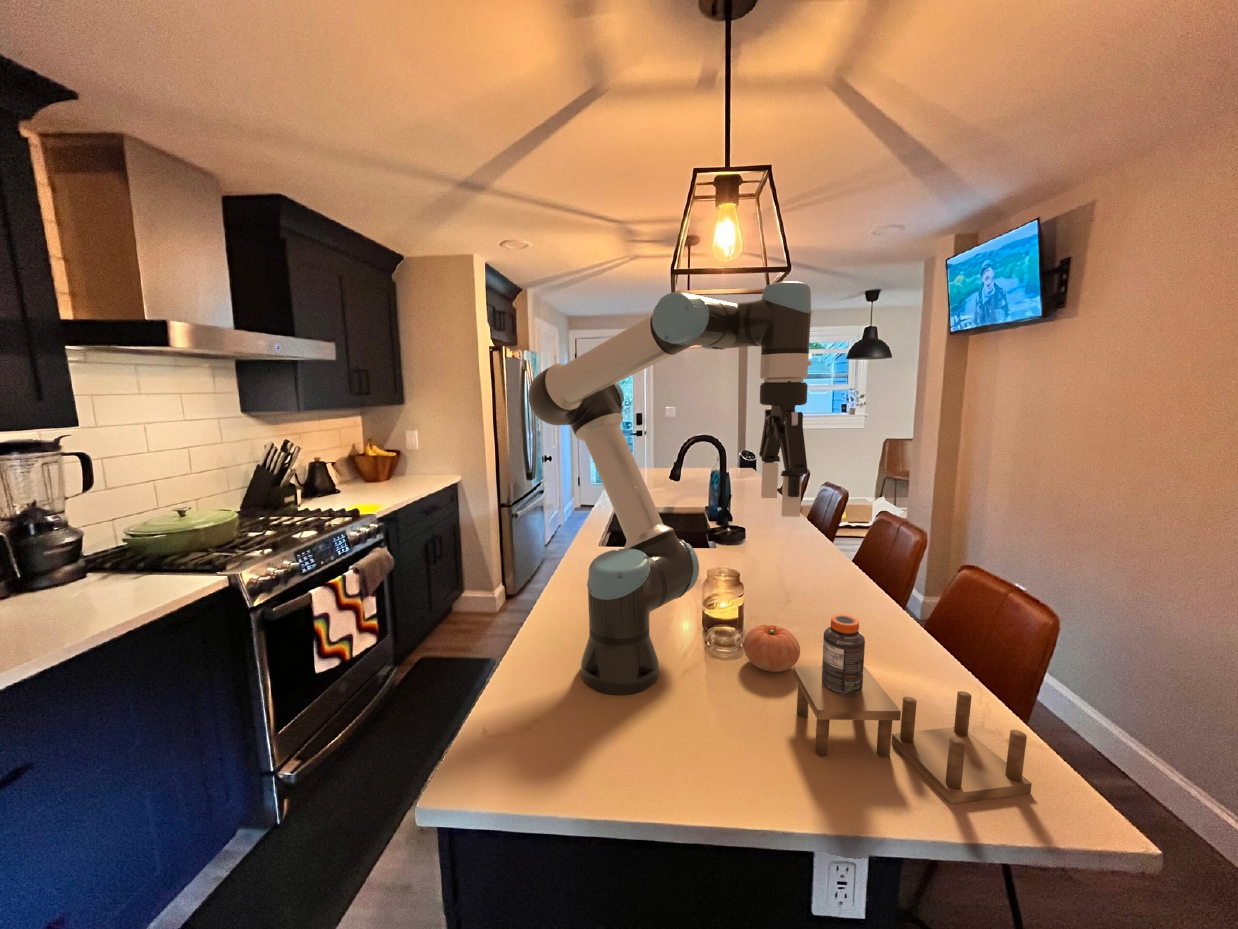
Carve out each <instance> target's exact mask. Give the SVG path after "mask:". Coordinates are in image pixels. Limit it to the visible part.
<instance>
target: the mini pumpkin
mask: <svg viewBox="0 0 1238 929" xmlns="http://www.w3.org/2000/svg"><path fill="white" fill-rule="evenodd" d="M742 642H743V643H742V646H743V651H744V654H745V656H746V658H747V659H748V660H749V662H750V663H751V664H753V665H754V666H755V667H757V668H758V669H761V670H763V671H766V672H773V673H774V672H775V673H780V672H783V671H784V672H785V671H787V670H789V669H791V668H793V666H796V664H797V663H798V661H799V658H800V656H801V646H800V643H799V641H798V639H797V638H796V636H795V635H794V634H793V633H792V632H791V631H790V630H788V629H787V628H784V627H782V626H779V625H775V624H761V625H757V626H755V627H753V628H750V629H749V631H748V632H747V633H746V634H745V636H744V639H743V641H742Z"/></svg>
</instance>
